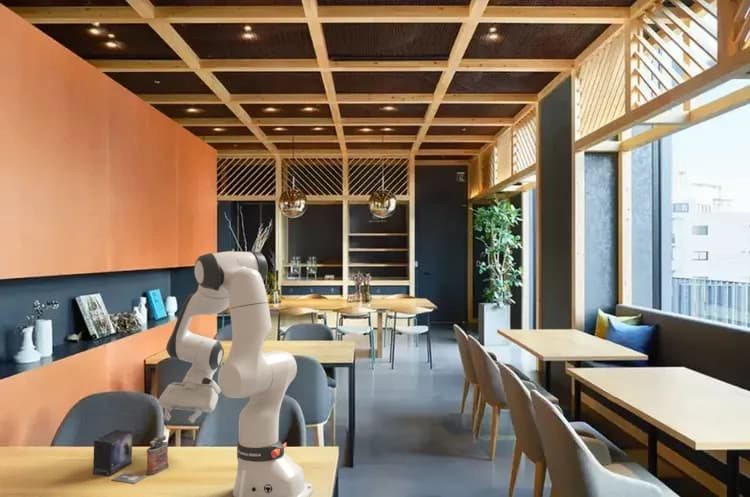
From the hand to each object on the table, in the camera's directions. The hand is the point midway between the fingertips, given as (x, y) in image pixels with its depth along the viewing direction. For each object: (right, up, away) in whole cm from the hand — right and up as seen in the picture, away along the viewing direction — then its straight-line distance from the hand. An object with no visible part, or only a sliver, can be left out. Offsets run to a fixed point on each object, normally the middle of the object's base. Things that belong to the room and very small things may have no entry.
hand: (178, 420), depth 177 cm
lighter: (-3, -13, -10) cm, 16 cm away
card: (-9, -12, -16) cm, 22 cm away
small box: (-17, -13, -9) cm, 23 cm away
